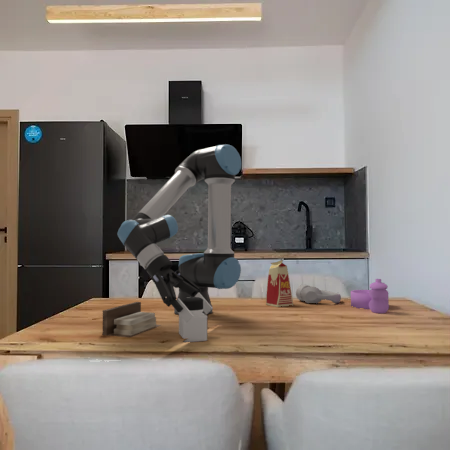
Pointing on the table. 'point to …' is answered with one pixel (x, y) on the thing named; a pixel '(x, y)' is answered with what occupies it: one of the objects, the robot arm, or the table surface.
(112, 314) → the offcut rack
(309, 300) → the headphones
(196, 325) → the medicine bottle
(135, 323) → the offcut stack
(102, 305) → the table surface
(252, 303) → the table surface
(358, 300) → the container set
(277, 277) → the milk carton
